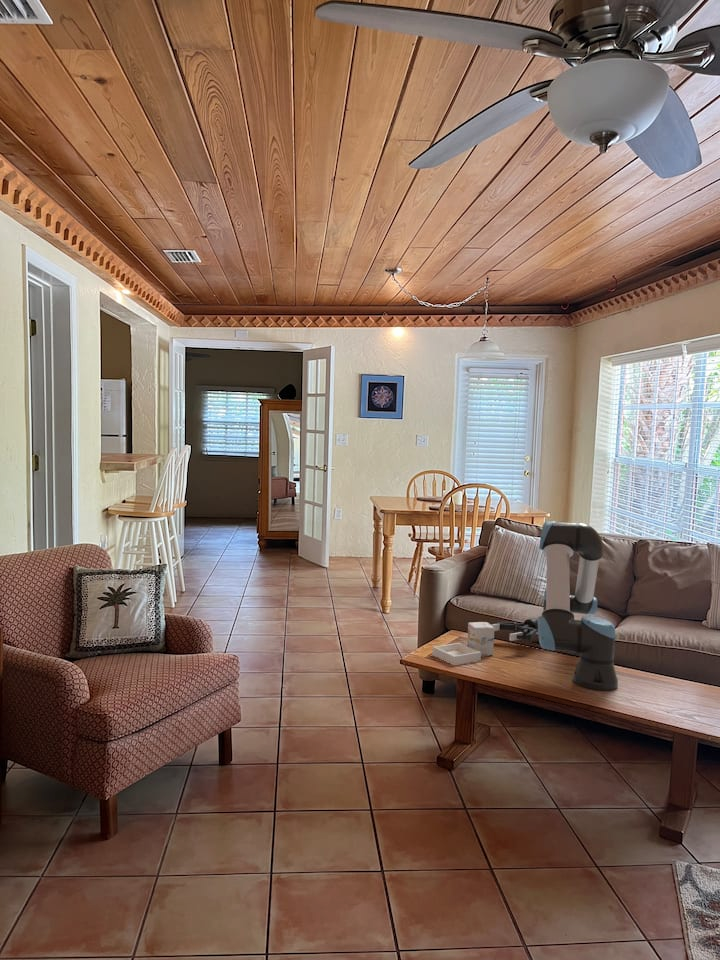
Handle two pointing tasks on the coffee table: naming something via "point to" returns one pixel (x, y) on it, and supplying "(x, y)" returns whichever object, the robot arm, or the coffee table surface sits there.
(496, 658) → the coffee table surface
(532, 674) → the coffee table surface
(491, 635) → the ink box
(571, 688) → the coffee table surface
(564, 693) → the coffee table surface
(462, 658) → the open white box
